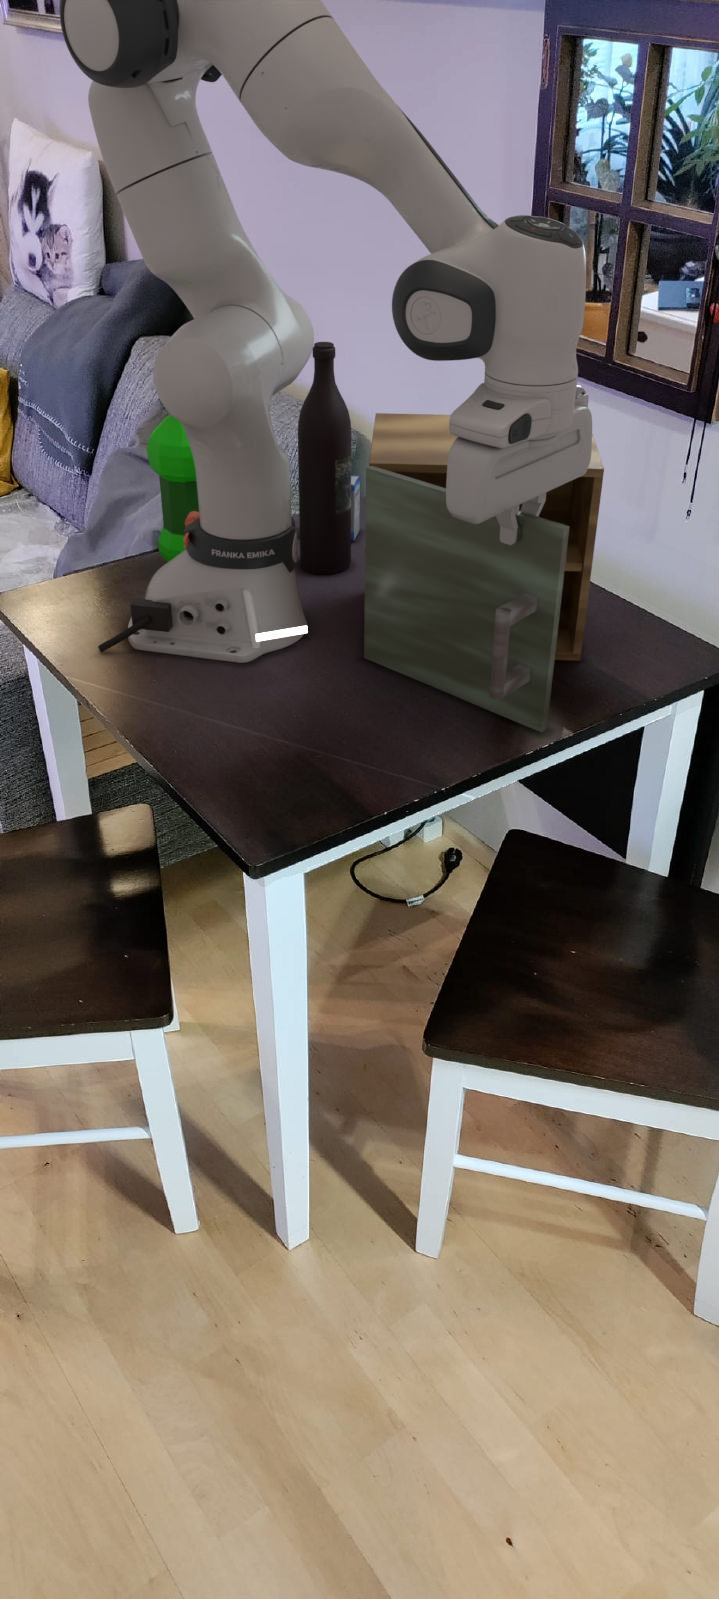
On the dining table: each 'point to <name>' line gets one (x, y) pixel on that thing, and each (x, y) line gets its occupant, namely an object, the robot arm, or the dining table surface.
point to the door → (462, 598)
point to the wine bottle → (324, 471)
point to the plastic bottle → (173, 482)
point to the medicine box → (355, 506)
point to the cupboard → (424, 456)
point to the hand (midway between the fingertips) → (517, 538)
